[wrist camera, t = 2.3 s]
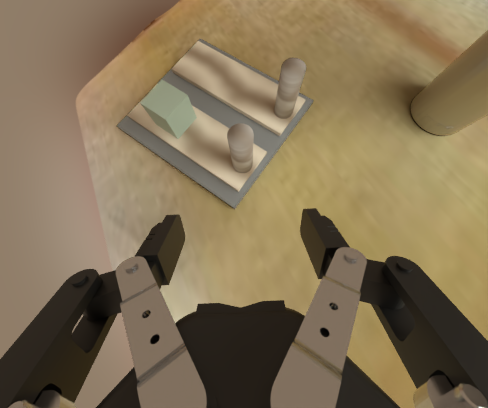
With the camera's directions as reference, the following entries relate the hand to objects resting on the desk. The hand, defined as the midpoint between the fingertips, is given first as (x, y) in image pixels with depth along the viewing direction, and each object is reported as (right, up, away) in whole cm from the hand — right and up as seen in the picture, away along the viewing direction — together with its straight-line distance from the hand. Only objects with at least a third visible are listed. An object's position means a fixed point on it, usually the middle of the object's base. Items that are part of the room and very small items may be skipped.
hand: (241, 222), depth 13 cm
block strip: (-8, +13, +20) cm, 26 cm away
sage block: (-11, +16, +20) cm, 28 cm away
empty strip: (-1, +23, +23) cm, 32 cm away
